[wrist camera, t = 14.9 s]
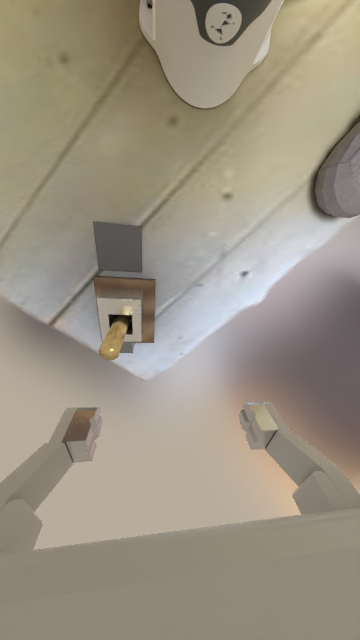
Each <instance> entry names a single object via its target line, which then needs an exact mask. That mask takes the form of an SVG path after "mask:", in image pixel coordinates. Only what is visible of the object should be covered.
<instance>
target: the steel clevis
mask: <svg viewBox="0 0 360 640" xmlns="http://www.w3.org/2000/svg"><path fill="white" fill-rule="evenodd" d="M97 305H98V313H99V320H100V327H101V335H102V341H104V339H105V337H106V335H107V333H108V331H109V329H110V328H111V326H112V324H113V322H114V320H115V318H116V316H117V315H132V319H131V320H130V323H129V326H128V329H127V332H126V335H125V338H124V341H123V344H122V346H121V349H120V352H119V353H133V349H134V345H135V342H142V335H143V329H144V289H131V288H112V287H106V288H105V290H104V291H103V292H102V293H101V294H100V295H99V296H98V297H97Z"/></svg>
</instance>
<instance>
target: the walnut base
mask: <svg viewBox="0 0 360 640" xmlns="http://www.w3.org/2000/svg"><path fill="white" fill-rule="evenodd" d="M93 278H94V286H95V293H96V300H97V297H98V296H99V295H100V294H101V293H102V292H103V291H104V290H105V288H106V287H112V288H131V289H144V329H143V335H142V342H135V343H154V310H155V279H141V278H124V277H106V276H95V277H93ZM97 308H98V305H97ZM98 315H99V313H98ZM131 319H132V317H131ZM99 323H100V320H99ZM100 330H101V327H100ZM101 337H102V335H101ZM102 342H103V341H102Z"/></svg>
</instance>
